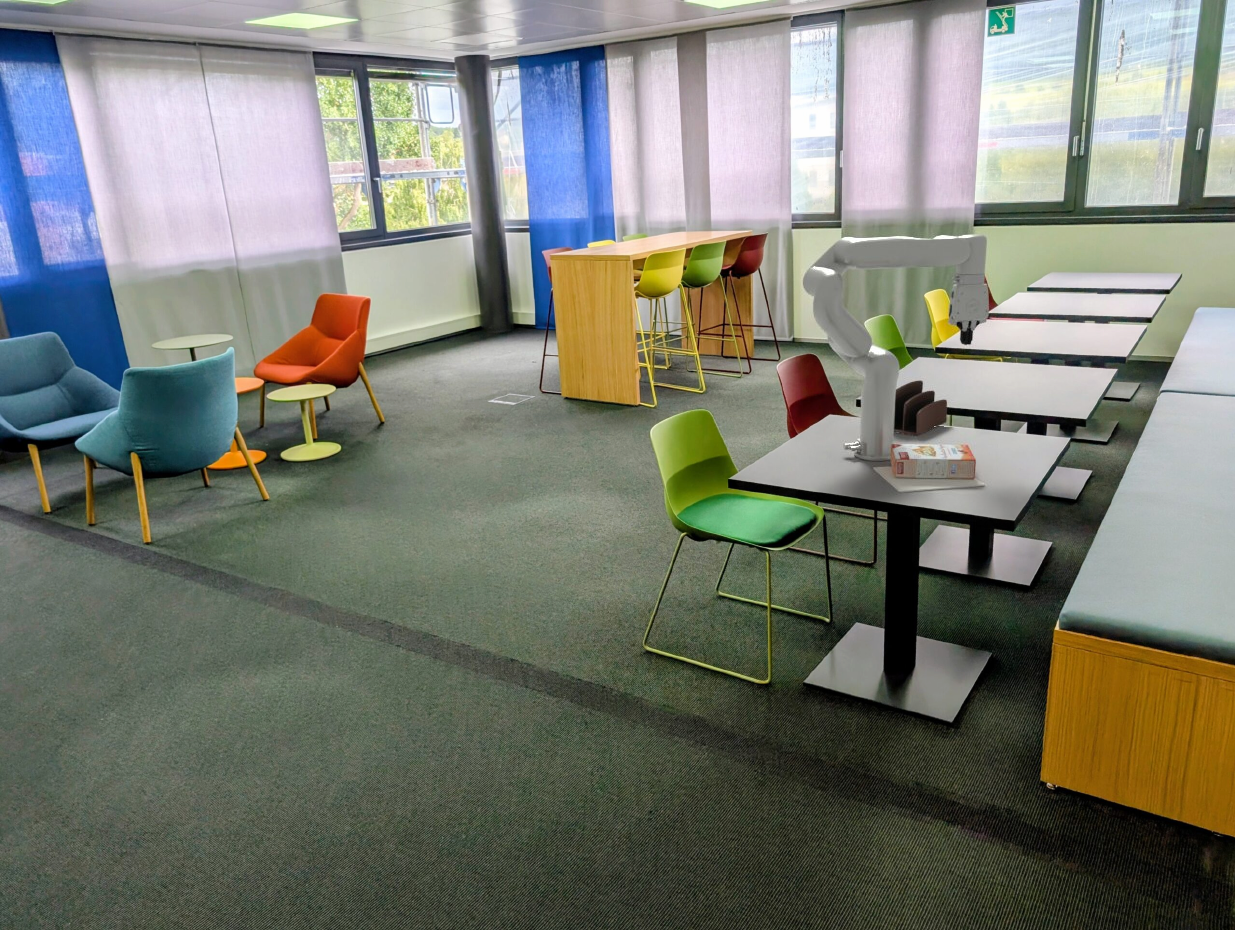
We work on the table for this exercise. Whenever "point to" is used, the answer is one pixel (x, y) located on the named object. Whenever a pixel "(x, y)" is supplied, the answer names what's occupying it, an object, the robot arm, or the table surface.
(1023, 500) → the table surface
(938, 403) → the letter holder
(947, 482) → the mat
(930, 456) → the cracker box
